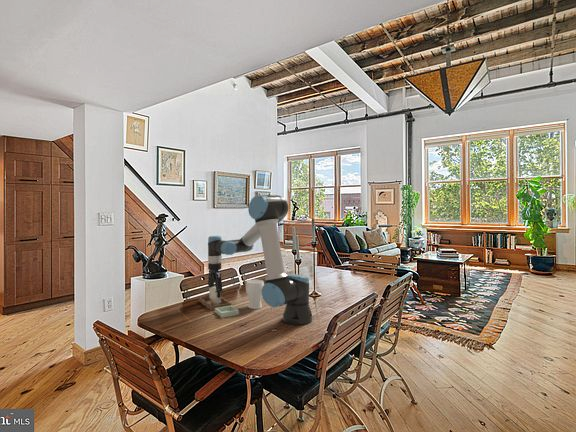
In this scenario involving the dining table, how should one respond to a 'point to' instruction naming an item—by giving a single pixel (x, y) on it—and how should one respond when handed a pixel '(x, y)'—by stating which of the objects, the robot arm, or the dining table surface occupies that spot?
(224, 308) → the dish
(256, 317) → the dining table surface
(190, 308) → the dining table surface
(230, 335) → the dining table surface
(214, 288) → the white rounded cylinder
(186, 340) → the dining table surface
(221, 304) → the tray
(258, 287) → the cup
